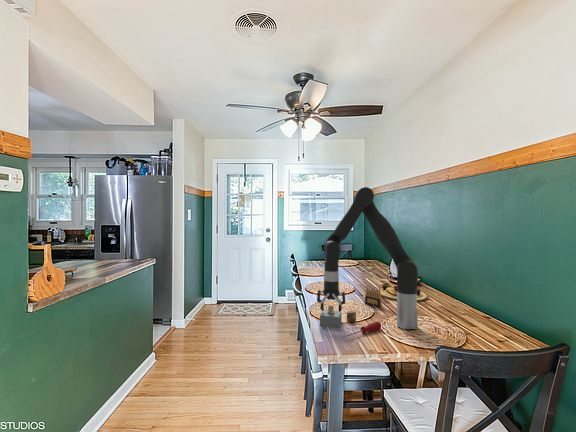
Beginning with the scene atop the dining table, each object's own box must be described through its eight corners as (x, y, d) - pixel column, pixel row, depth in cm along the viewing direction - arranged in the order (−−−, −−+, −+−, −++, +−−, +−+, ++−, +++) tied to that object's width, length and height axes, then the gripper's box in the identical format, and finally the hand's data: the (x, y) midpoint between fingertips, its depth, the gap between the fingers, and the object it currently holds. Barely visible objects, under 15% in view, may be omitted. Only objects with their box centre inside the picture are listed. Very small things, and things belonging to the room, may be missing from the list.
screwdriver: (341, 339, 132) (341, 331, 133) (375, 327, 148) (375, 320, 148) (347, 342, 130) (347, 333, 130) (381, 329, 145) (381, 322, 145)
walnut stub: (356, 319, 158) (356, 311, 158) (355, 322, 154) (355, 314, 154) (346, 319, 159) (346, 310, 159) (346, 322, 155) (346, 313, 155)
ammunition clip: (381, 307, 182) (381, 287, 182) (380, 307, 180) (380, 287, 181) (366, 303, 190) (366, 284, 190) (364, 303, 188) (364, 284, 188)
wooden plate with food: (368, 292, 217) (368, 281, 217) (401, 288, 230) (401, 277, 230) (402, 305, 188) (402, 292, 188) (437, 299, 201) (437, 287, 201)
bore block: (341, 320, 156) (341, 311, 156) (340, 327, 147) (340, 317, 147) (322, 319, 159) (322, 309, 159) (319, 325, 149) (319, 315, 149)
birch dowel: (333, 322, 154) (333, 305, 154) (333, 324, 151) (333, 306, 151) (328, 322, 154) (328, 304, 154) (327, 323, 152) (328, 306, 152)
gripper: (345, 278, 155) (345, 310, 155) (318, 277, 158) (318, 307, 158) (345, 281, 147) (344, 314, 147) (316, 280, 151) (316, 312, 151)
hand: (331, 311), depth 153 cm, fingers open, 8 cm apart
